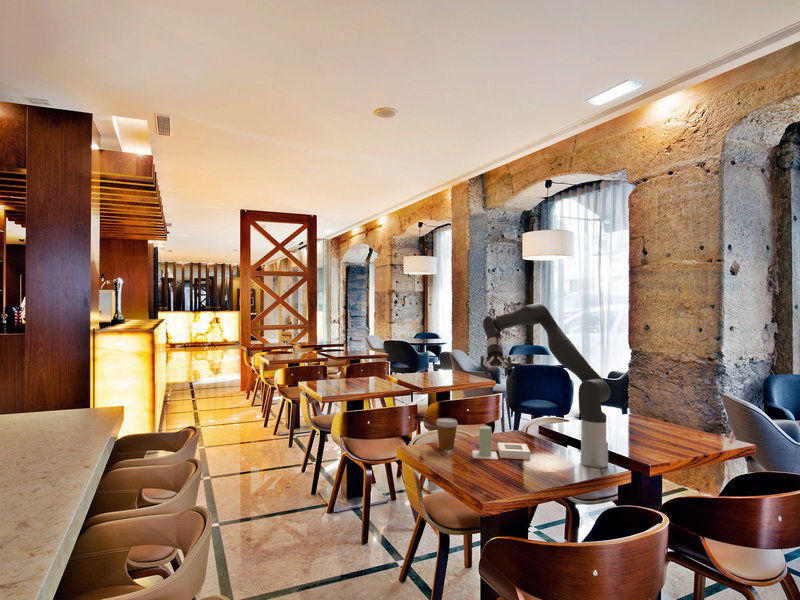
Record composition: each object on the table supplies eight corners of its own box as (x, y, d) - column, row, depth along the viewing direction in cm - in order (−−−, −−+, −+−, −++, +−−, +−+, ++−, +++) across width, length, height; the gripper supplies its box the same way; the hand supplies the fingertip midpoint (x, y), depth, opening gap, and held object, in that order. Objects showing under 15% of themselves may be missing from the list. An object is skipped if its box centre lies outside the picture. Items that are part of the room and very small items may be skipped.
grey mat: (496, 452, 196) (496, 451, 196) (498, 459, 186) (498, 458, 186) (472, 451, 198) (472, 450, 198) (473, 458, 188) (473, 457, 188)
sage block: (490, 453, 194) (490, 426, 195) (491, 456, 190) (491, 429, 190) (479, 452, 195) (479, 426, 195) (479, 455, 190) (480, 428, 190)
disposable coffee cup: (447, 452, 195) (447, 423, 196) (431, 447, 202) (431, 419, 203) (462, 448, 202) (462, 420, 202) (445, 443, 209) (446, 416, 209)
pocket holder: (525, 450, 200) (526, 443, 200) (530, 459, 188) (530, 451, 188) (497, 449, 201) (497, 442, 201) (500, 457, 189) (500, 450, 189)
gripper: (480, 343, 223) (481, 369, 211) (510, 343, 221) (513, 370, 209) (479, 353, 228) (480, 379, 216) (509, 354, 226) (511, 381, 214)
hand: (496, 375), depth 213 cm, fingers open, 8 cm apart
